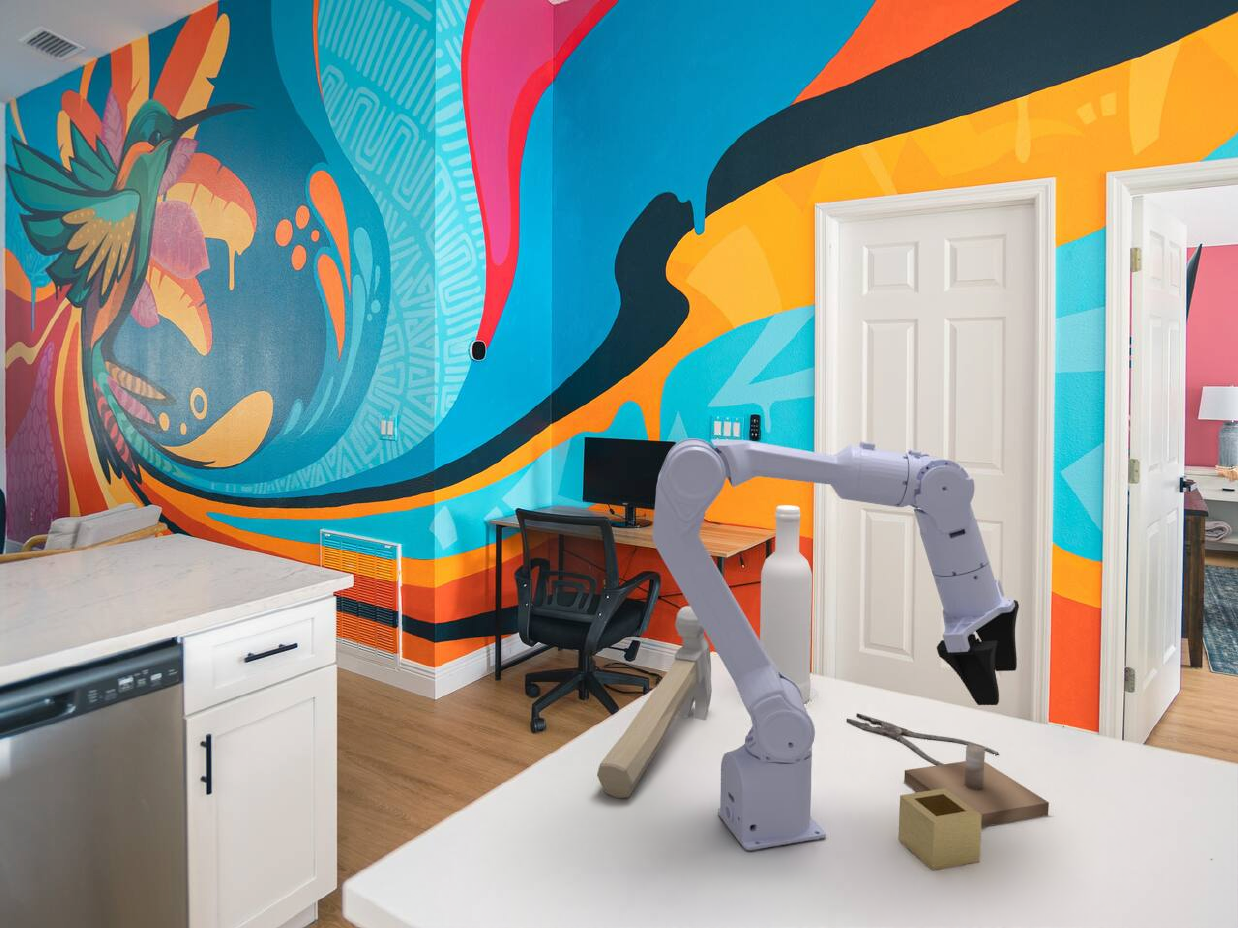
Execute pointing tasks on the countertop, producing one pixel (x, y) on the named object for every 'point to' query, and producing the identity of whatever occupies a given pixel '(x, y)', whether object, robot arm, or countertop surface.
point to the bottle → (787, 602)
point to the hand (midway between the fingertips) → (997, 685)
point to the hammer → (662, 709)
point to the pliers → (898, 732)
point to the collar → (939, 828)
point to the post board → (980, 788)
